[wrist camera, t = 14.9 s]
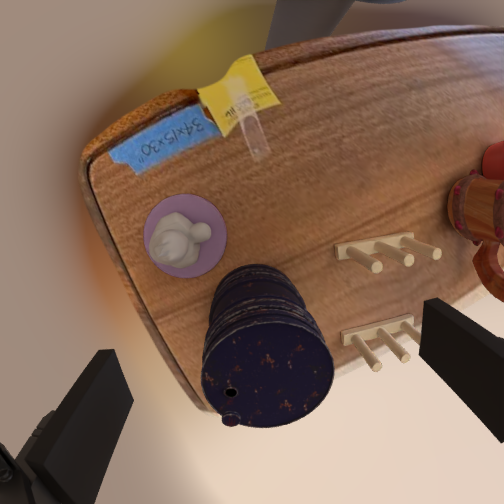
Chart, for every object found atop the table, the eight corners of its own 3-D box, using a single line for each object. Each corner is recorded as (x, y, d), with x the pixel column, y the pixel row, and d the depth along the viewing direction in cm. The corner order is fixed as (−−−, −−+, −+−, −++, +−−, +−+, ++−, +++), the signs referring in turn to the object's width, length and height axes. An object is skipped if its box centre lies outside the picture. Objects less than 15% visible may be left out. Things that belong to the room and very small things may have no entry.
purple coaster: (138, 202, 32) (135, 203, 31) (219, 186, 32) (218, 186, 31) (155, 281, 34) (153, 284, 33) (233, 268, 34) (233, 271, 33)
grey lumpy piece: (146, 223, 32) (120, 235, 24) (203, 200, 32) (193, 205, 24) (165, 270, 33) (146, 295, 25) (222, 248, 33) (218, 268, 25)
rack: (334, 244, 34) (361, 261, 26) (408, 231, 35) (448, 243, 27) (341, 341, 37) (364, 377, 29) (409, 323, 37) (441, 351, 29)
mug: (438, 167, 33) (525, 168, 18) (479, 171, 33) (561, 175, 19) (435, 279, 36) (511, 322, 22) (475, 273, 37) (548, 307, 22)
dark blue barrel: (284, 250, 34) (332, 318, 17) (308, 326, 36) (358, 428, 19) (198, 280, 34) (167, 371, 17) (229, 352, 37) (228, 467, 19)
